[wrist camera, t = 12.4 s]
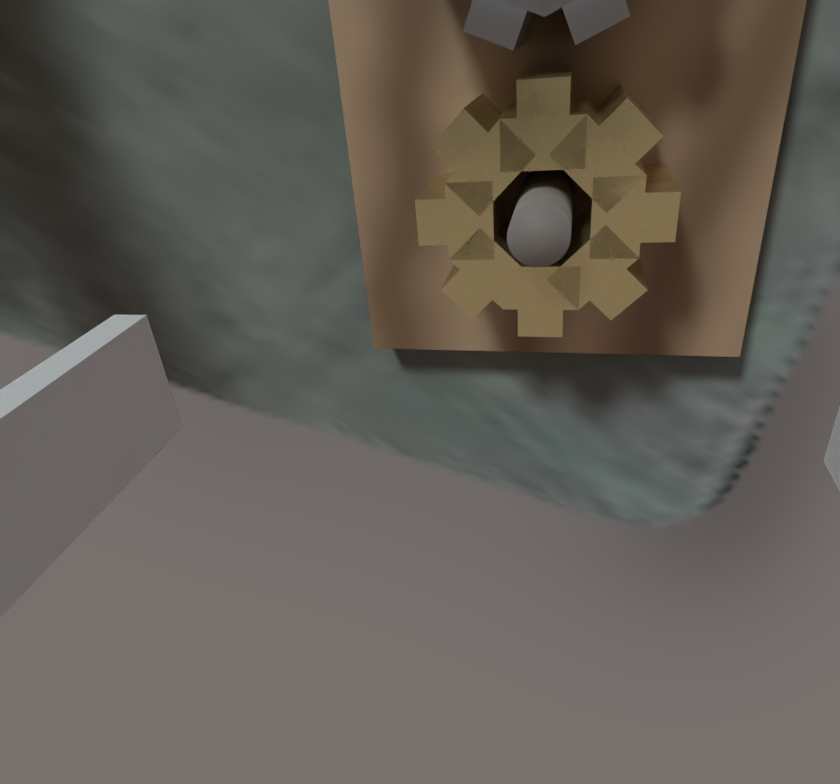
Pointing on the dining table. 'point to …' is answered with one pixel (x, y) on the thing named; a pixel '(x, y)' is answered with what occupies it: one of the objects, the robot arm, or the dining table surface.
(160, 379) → the robot arm
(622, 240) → the brass gear
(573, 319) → the gear board
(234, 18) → the dining table surface
